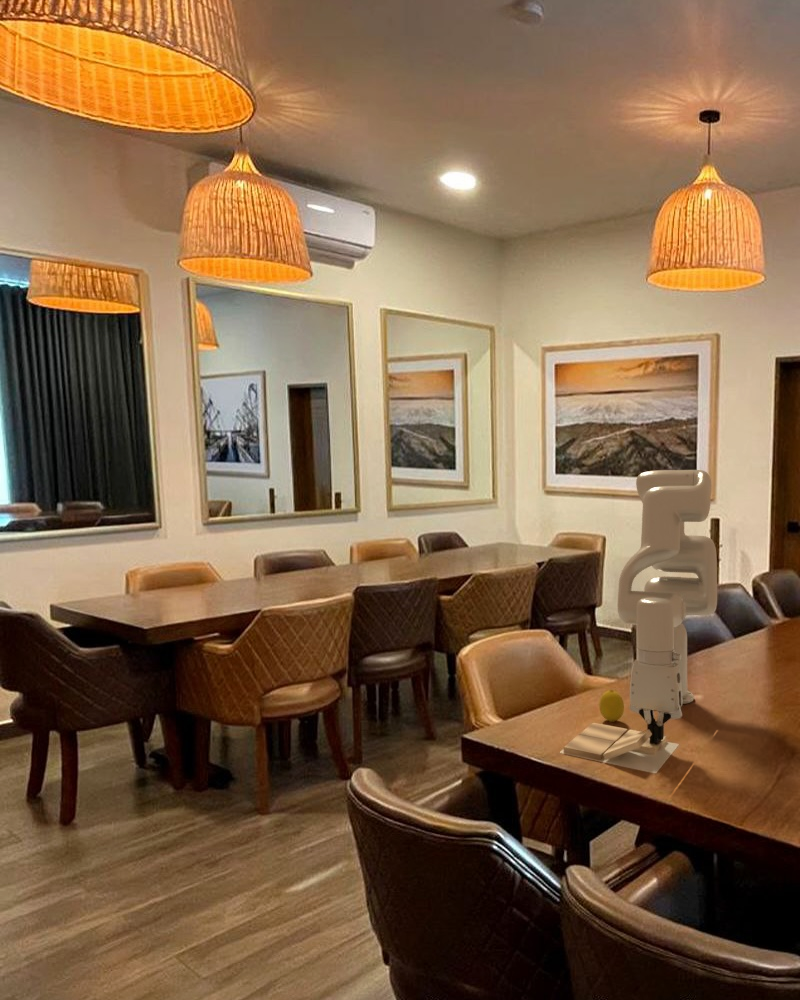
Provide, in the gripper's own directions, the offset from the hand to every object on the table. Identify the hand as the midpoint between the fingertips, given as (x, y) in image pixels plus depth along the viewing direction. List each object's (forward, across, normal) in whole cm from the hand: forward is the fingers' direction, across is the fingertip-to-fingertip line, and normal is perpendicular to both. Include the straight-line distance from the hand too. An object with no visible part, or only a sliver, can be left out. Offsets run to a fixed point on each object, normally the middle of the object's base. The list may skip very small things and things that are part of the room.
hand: (655, 741), depth 156 cm
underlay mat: (+2, +6, +4) cm, 8 cm away
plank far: (+1, +3, 0) cm, 3 cm away
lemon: (+2, +13, -11) cm, 17 cm away
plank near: (-1, +3, +9) cm, 9 cm away
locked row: (+1, +11, +4) cm, 12 cm away
